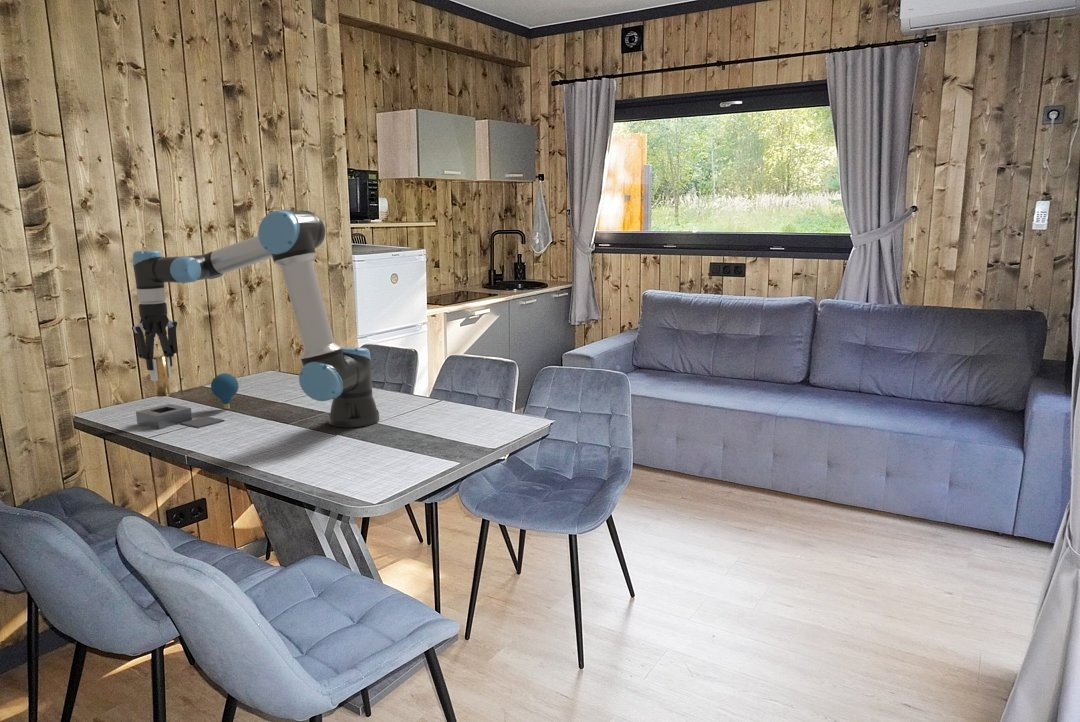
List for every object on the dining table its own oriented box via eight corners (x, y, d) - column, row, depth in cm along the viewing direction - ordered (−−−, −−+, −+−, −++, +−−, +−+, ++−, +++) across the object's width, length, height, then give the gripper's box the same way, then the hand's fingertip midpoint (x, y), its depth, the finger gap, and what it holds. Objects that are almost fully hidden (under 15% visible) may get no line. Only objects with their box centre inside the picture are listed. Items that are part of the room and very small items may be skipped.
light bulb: (222, 413, 243) (218, 377, 241) (208, 410, 248) (204, 374, 246) (245, 408, 250) (242, 372, 247) (231, 405, 255) (228, 370, 252)
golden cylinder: (165, 393, 234) (160, 355, 232) (172, 394, 232) (168, 356, 230) (153, 395, 231) (149, 357, 229) (161, 397, 229) (156, 358, 227)
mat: (224, 421, 234) (224, 419, 234) (198, 428, 227) (198, 426, 227) (206, 417, 239) (205, 416, 239) (180, 424, 231) (179, 422, 231)
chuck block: (192, 420, 235) (191, 408, 235) (159, 429, 226) (157, 416, 225) (170, 416, 241) (169, 403, 240) (137, 424, 231) (135, 411, 231)
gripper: (170, 299, 235) (178, 373, 240) (117, 305, 221) (127, 383, 226) (185, 300, 232) (193, 375, 236) (132, 306, 217) (142, 385, 222)
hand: (161, 378), depth 231 cm, fingers closed on golden cylinder, 4 cm apart
